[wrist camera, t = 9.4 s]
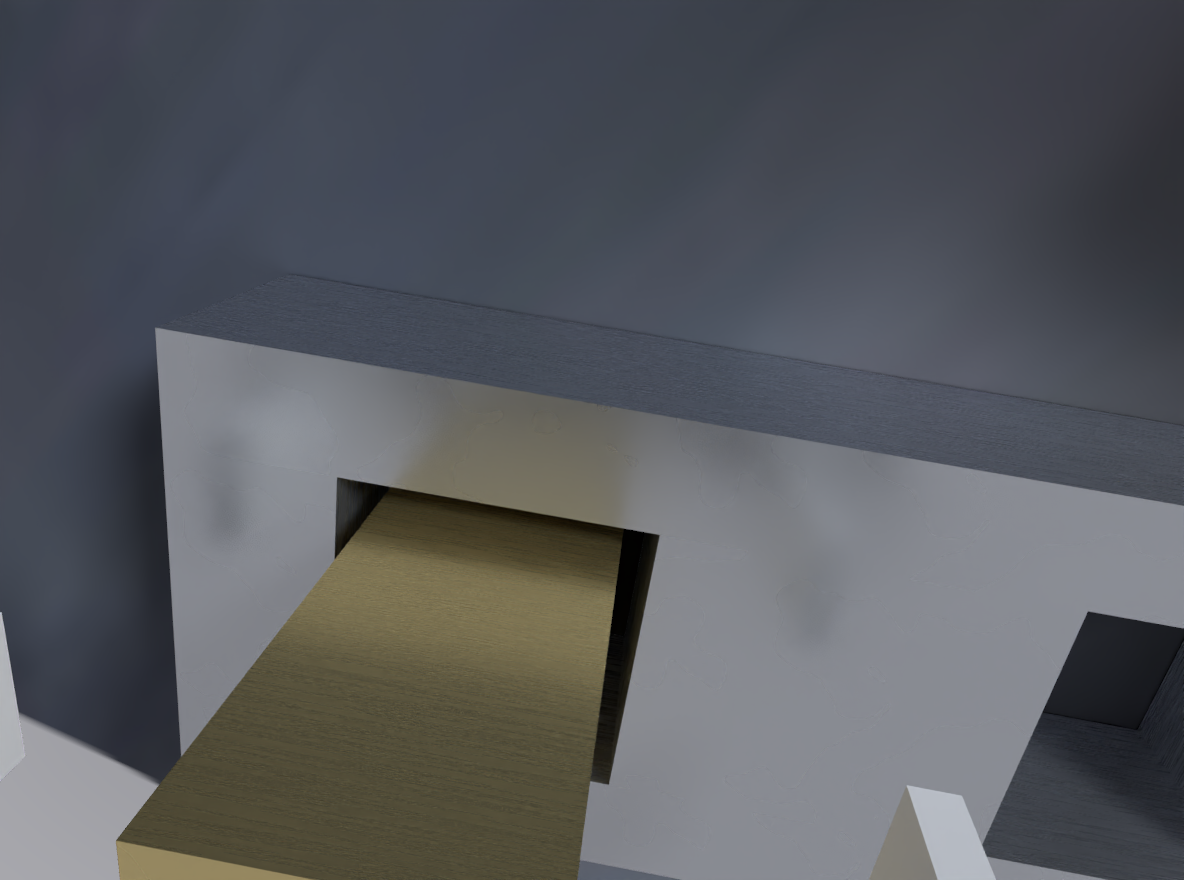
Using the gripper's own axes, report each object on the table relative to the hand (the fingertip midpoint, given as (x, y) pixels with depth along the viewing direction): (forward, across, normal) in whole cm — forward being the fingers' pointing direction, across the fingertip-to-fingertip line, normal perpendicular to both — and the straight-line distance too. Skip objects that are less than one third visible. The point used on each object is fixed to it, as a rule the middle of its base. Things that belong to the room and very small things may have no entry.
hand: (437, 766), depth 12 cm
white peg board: (+8, +7, 0) cm, 11 cm away
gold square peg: (+8, 0, 0) cm, 9 cm away
